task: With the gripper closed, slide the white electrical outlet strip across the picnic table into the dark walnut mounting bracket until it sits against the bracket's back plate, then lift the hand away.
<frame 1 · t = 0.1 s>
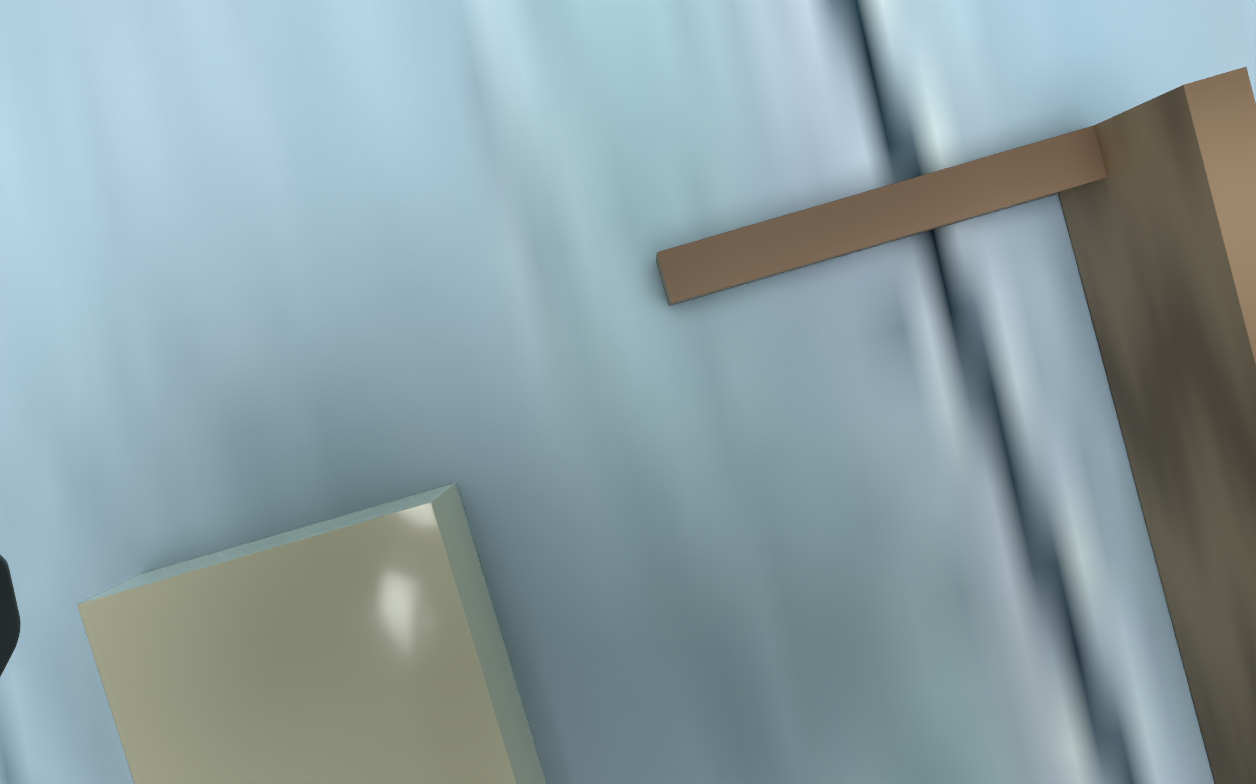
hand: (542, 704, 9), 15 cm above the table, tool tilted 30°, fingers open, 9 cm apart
mounting bracket: (992, 766, 24), on the table
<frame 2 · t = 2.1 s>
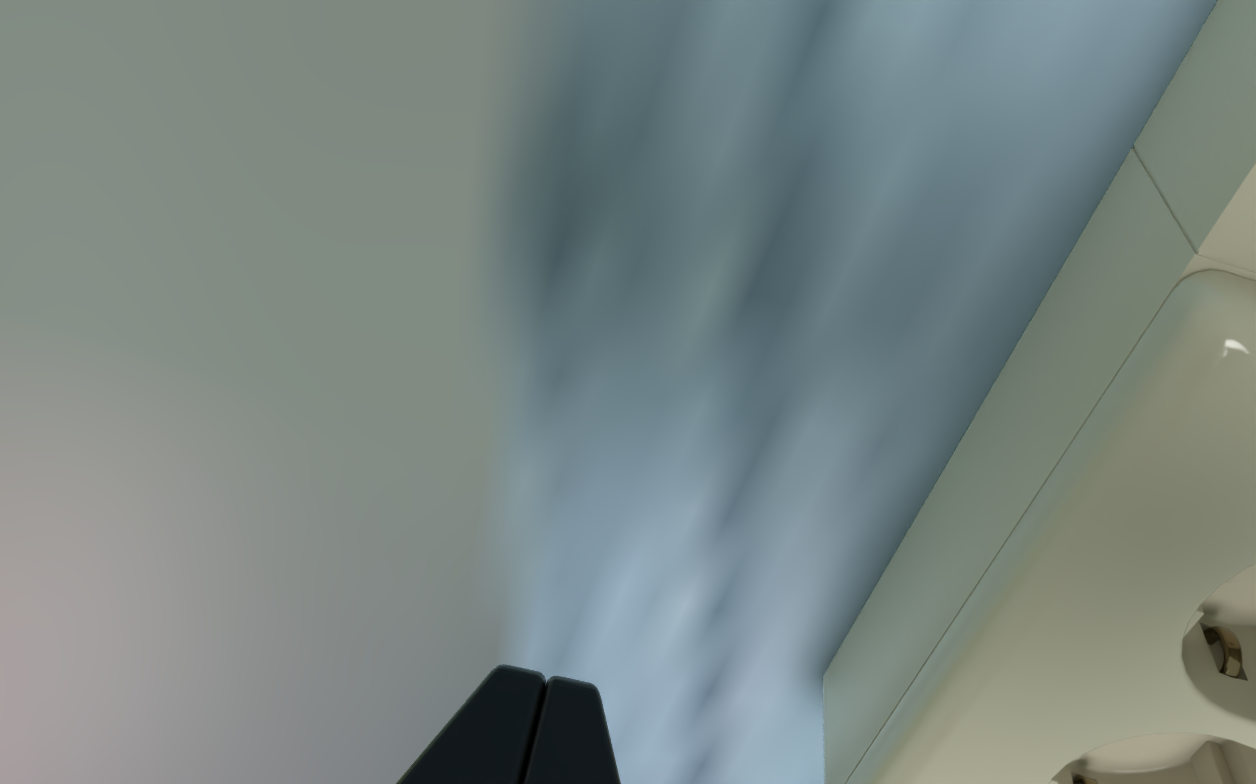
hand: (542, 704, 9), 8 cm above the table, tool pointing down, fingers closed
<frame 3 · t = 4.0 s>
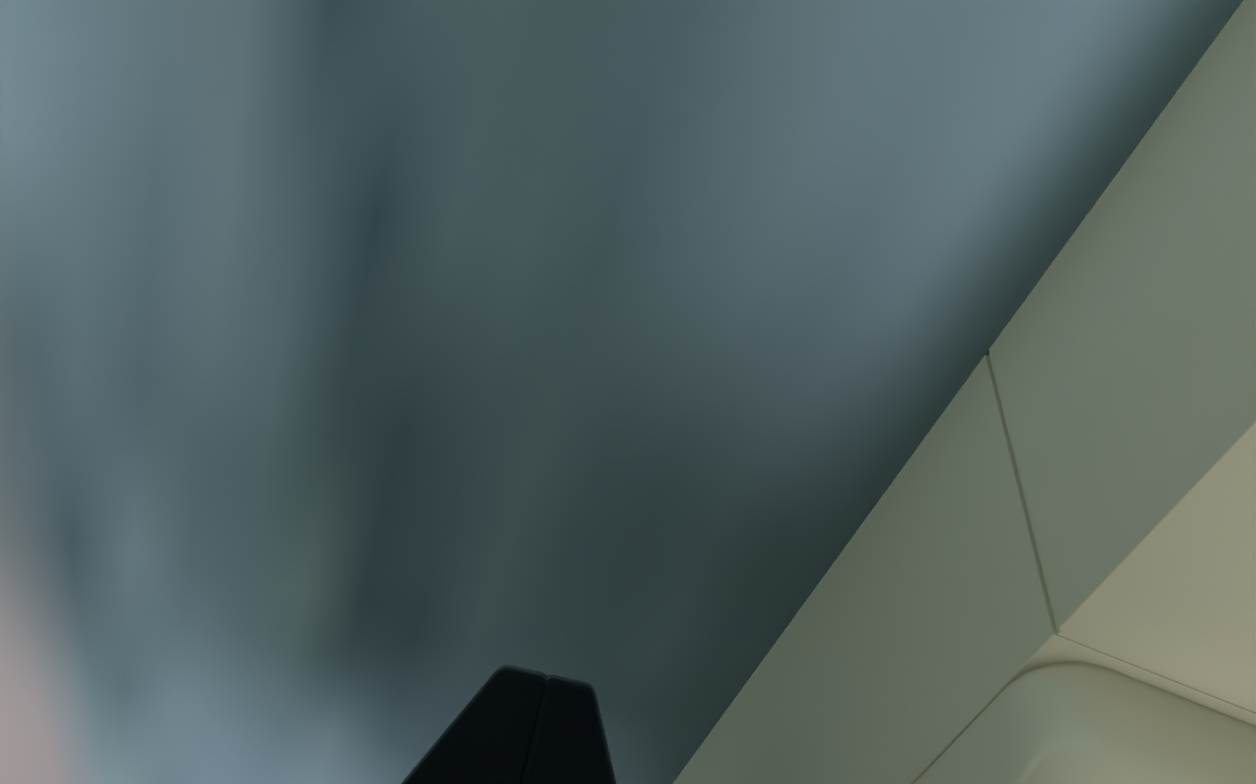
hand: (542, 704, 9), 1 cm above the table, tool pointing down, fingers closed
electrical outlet: (1221, 619, 10), on the table, touching gripper
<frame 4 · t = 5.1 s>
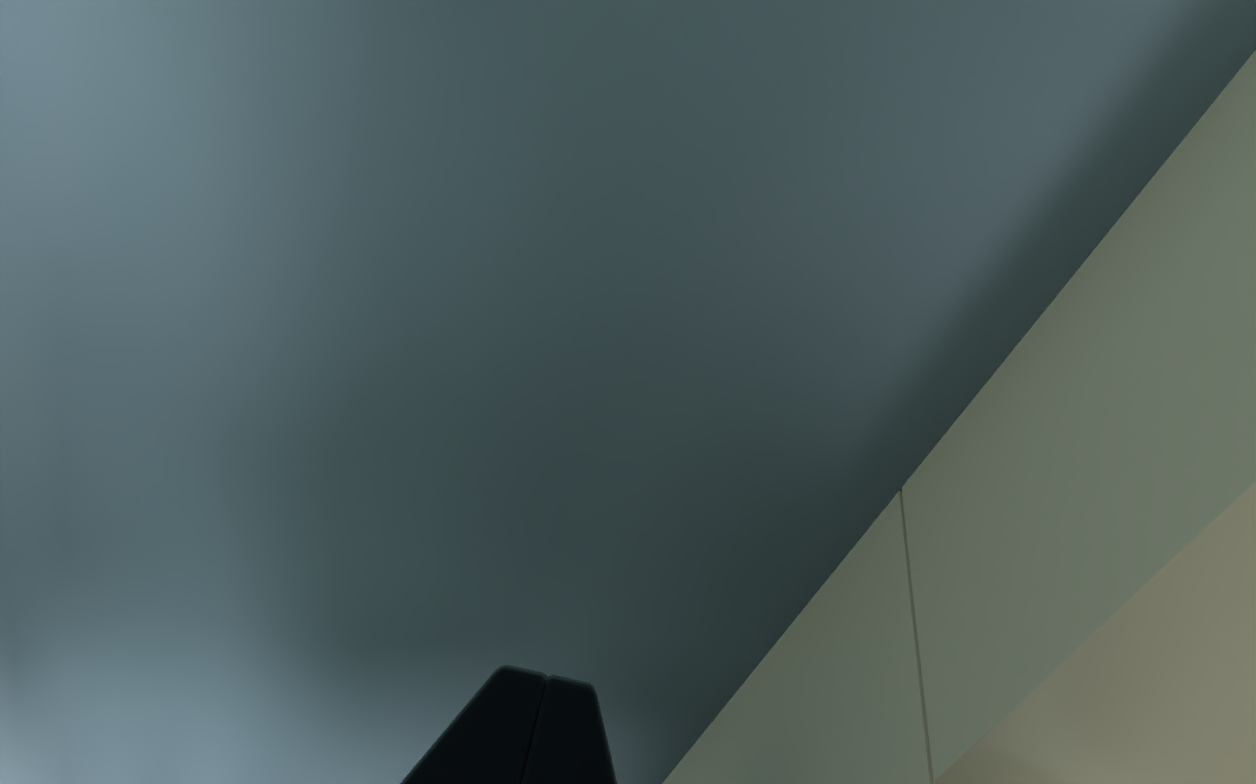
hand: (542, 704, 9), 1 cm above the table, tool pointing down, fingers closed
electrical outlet: (1115, 720, 11), on the table, touching gripper
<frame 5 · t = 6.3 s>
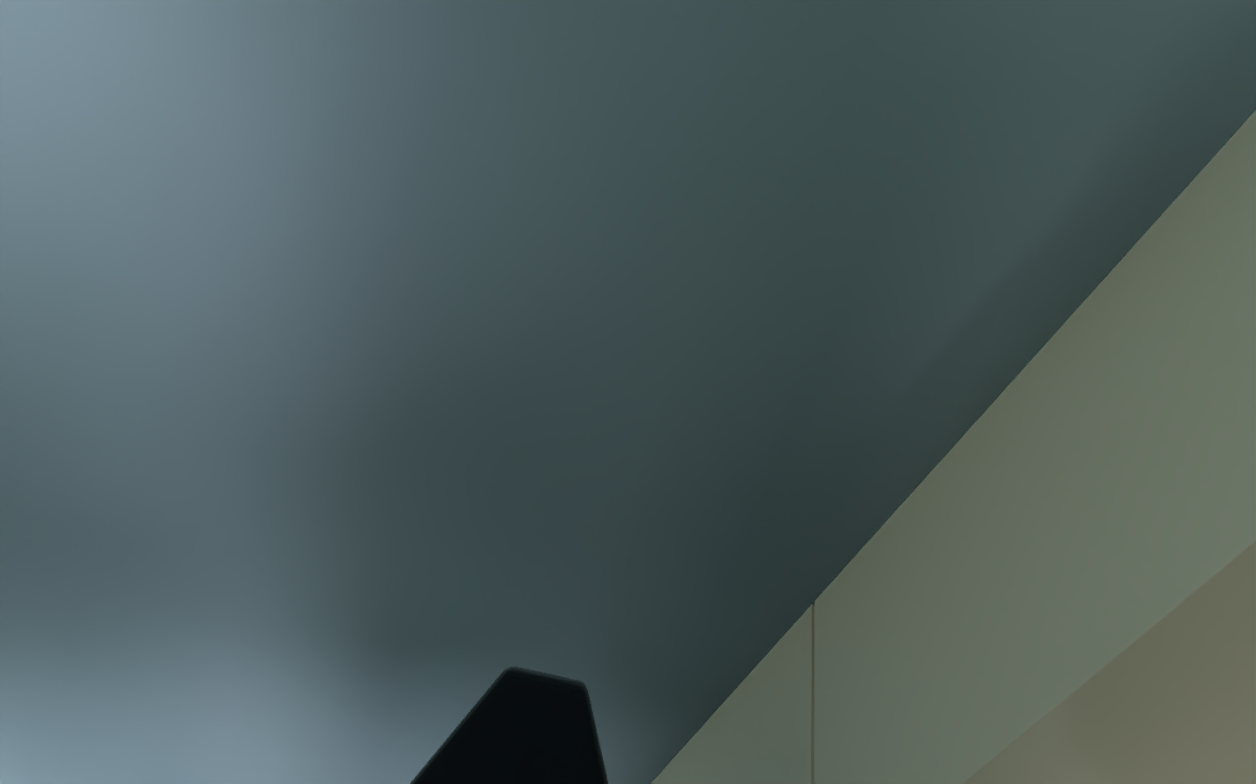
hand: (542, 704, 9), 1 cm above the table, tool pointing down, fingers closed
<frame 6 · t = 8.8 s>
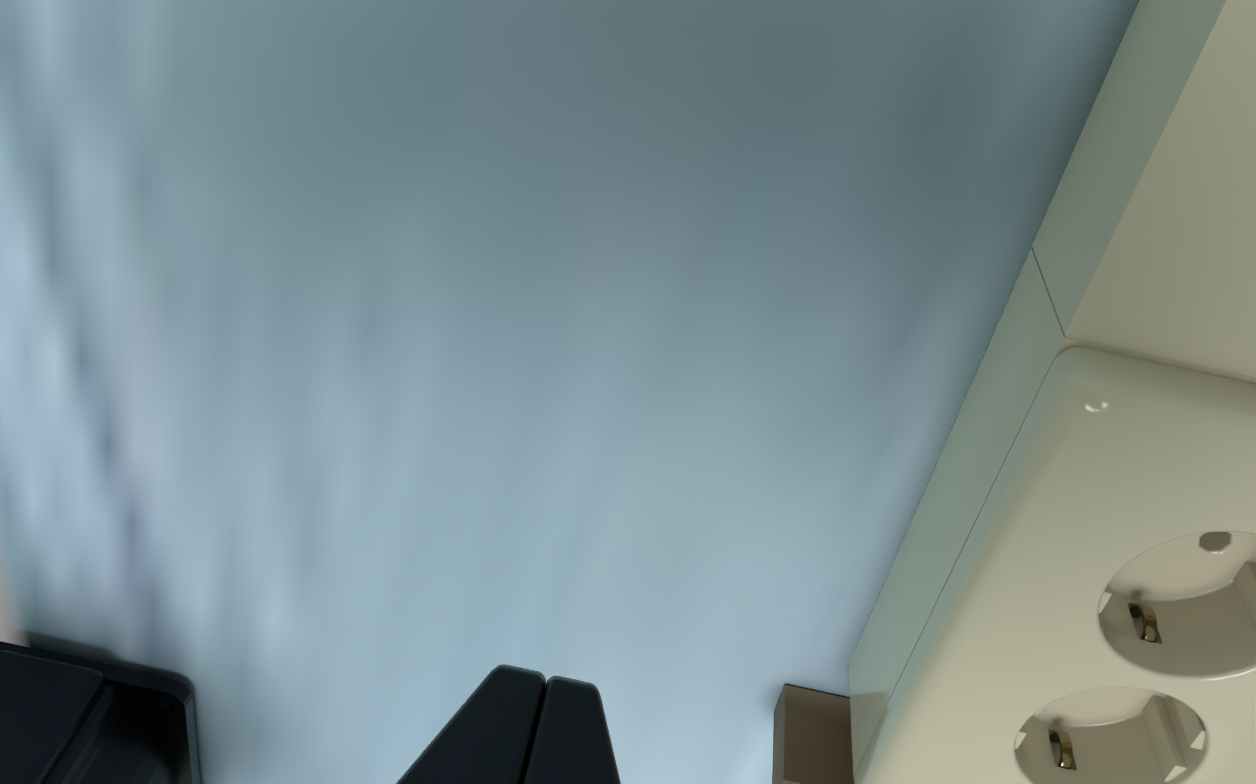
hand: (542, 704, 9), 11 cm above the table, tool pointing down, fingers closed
mounting bracket: (1202, 284, 18), on the table
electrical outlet: (1184, 364, 20), on the table
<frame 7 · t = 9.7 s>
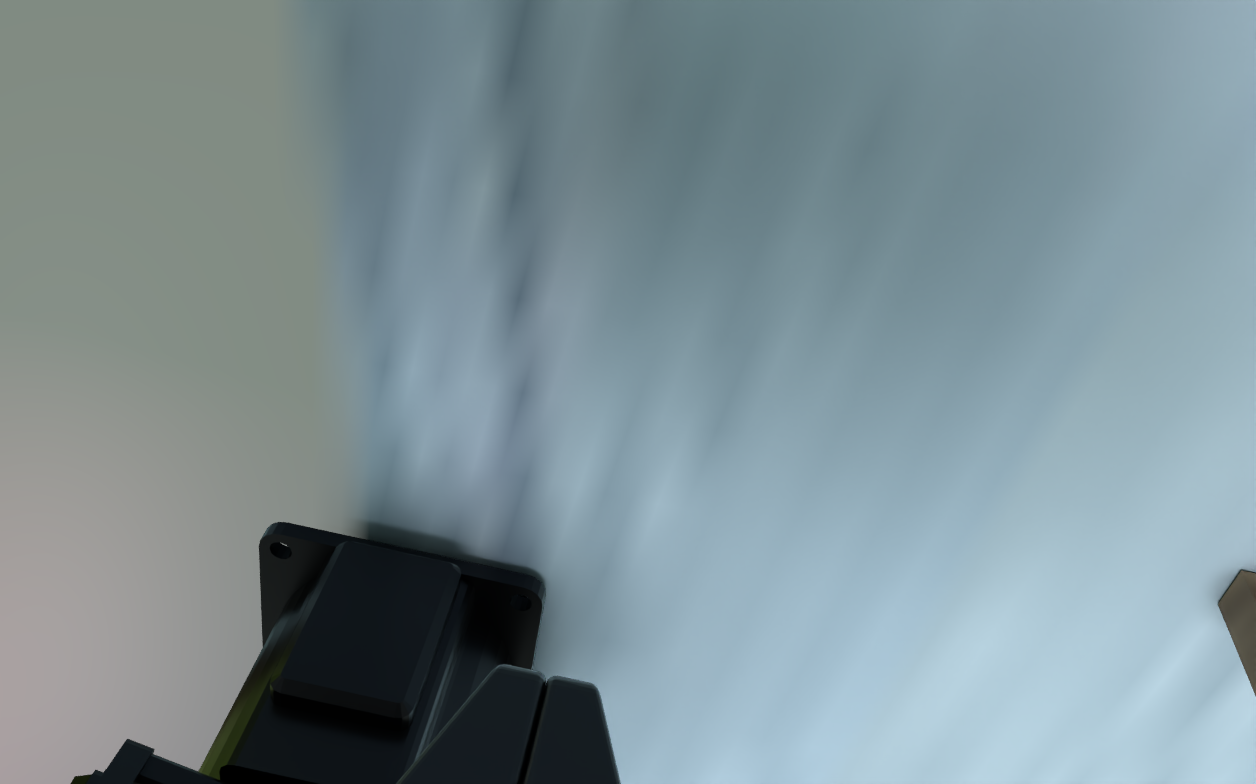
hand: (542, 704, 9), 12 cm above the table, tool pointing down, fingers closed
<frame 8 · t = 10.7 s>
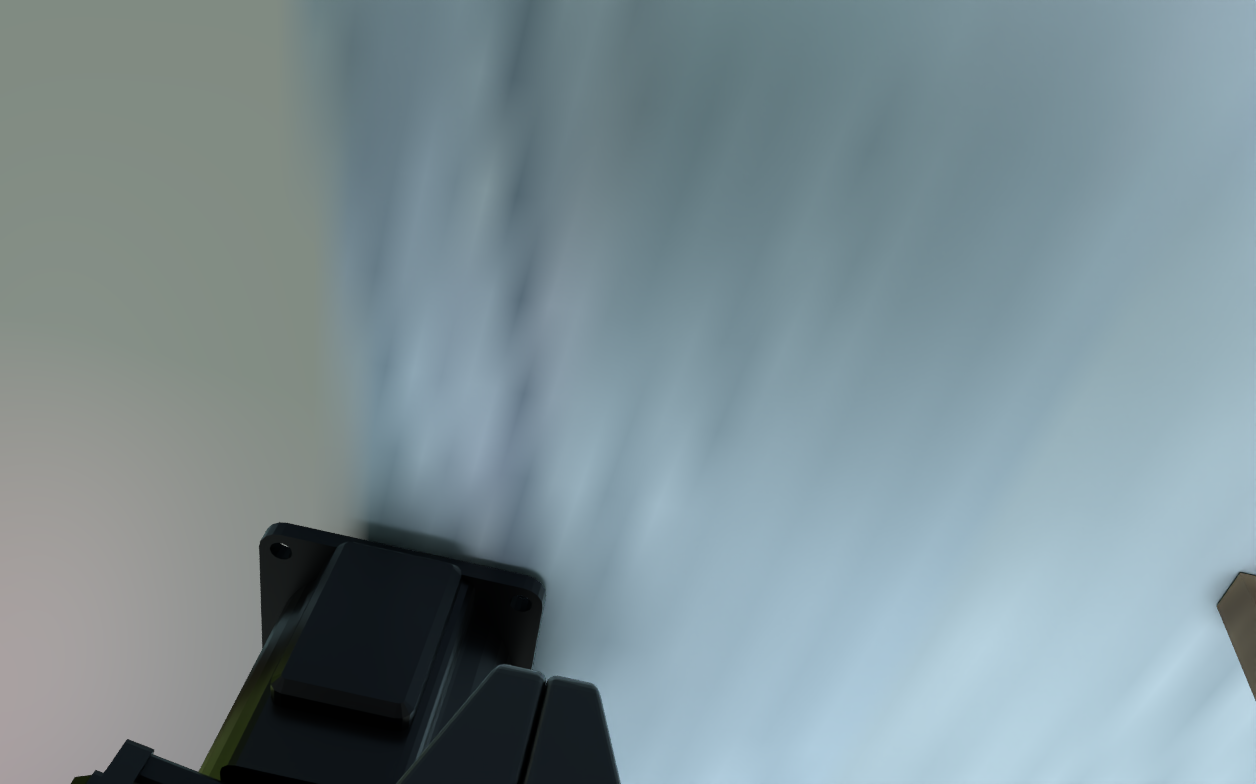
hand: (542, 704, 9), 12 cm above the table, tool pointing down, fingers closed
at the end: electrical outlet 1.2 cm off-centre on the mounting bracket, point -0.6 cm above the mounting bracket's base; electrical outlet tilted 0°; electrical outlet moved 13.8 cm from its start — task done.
